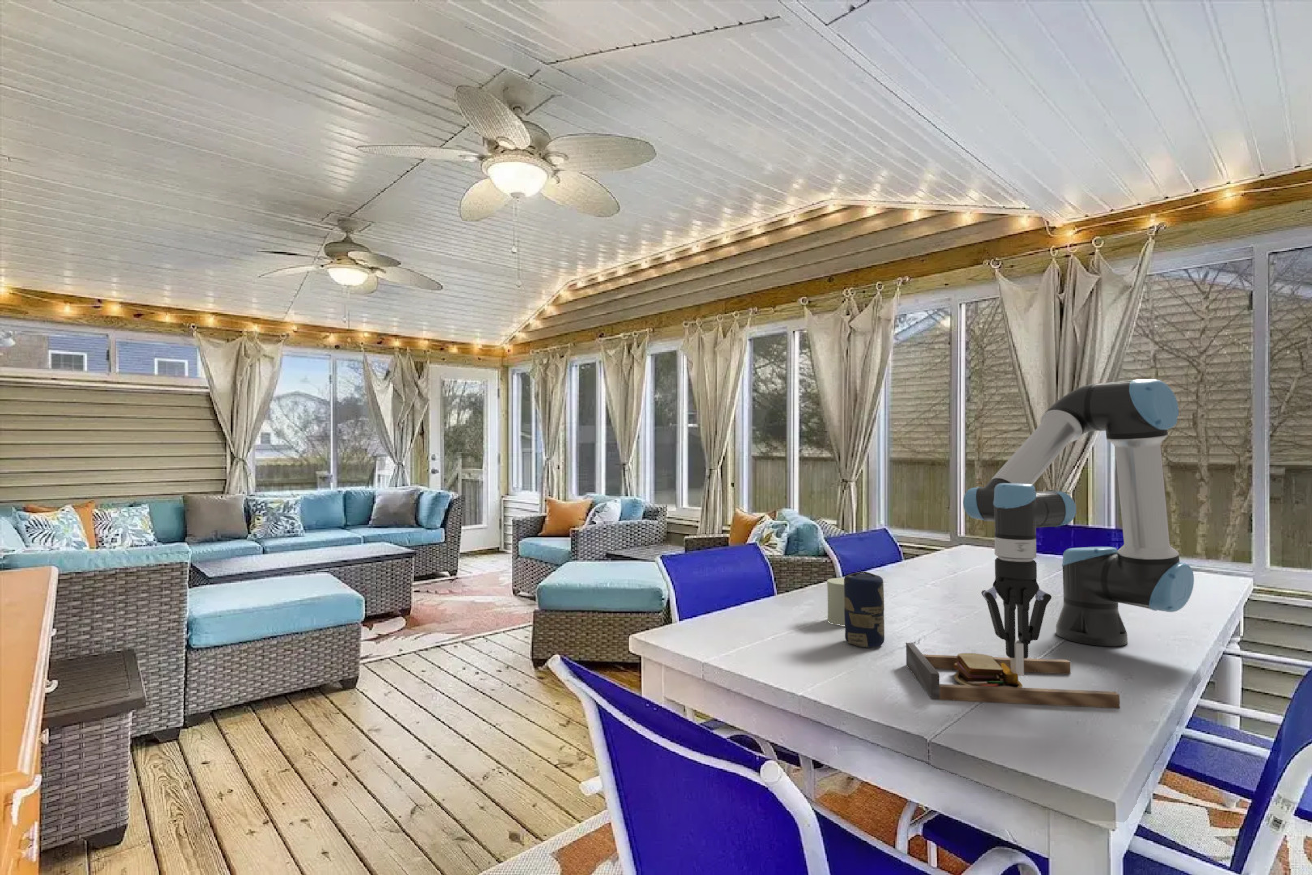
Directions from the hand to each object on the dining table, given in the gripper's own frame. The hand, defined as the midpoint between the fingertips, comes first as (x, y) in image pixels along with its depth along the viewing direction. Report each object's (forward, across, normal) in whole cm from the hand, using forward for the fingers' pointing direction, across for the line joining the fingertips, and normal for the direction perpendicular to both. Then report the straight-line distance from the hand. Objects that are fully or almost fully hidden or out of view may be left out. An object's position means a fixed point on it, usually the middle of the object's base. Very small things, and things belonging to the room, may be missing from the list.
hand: (1017, 673), depth 132 cm
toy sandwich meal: (+3, -6, 0) cm, 7 cm away
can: (+3, -28, +45) cm, 53 cm away
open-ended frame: (+2, -2, 0) cm, 3 cm away
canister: (+3, -26, +25) cm, 36 cm away
